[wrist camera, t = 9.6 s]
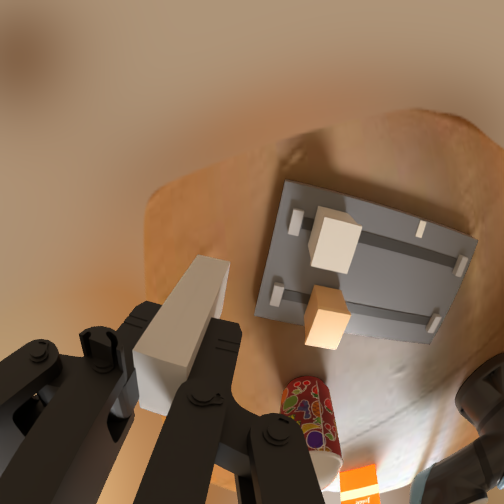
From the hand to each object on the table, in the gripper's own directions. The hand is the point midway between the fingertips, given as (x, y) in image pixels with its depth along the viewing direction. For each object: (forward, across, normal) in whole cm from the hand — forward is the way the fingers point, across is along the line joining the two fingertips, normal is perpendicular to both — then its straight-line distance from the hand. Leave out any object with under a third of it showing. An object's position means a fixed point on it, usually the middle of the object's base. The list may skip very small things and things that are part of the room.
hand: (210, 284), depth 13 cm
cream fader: (+15, -8, 0) cm, 17 cm away
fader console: (+17, -15, +4) cm, 23 cm away
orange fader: (+15, -10, +8) cm, 19 cm away
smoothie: (+17, -13, +24) cm, 32 cm away
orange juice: (+17, -38, +56) cm, 70 cm away
